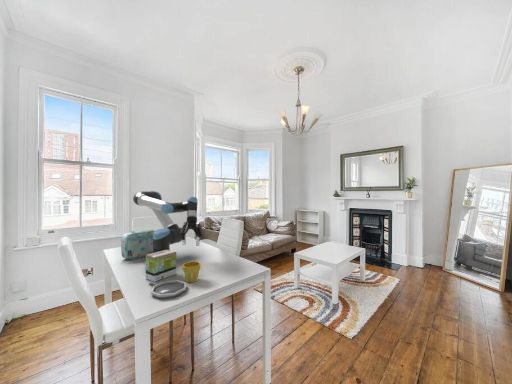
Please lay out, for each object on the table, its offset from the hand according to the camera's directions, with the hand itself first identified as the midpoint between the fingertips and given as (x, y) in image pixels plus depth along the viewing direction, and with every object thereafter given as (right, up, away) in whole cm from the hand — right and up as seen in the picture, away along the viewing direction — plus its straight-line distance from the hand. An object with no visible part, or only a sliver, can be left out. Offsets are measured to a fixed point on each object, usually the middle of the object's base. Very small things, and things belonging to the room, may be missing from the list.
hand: (191, 245), depth 159 cm
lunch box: (-47, -13, +17) cm, 52 cm away
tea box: (-12, -14, -23) cm, 29 cm away
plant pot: (+9, -14, -29) cm, 33 cm away
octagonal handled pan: (-2, -14, -41) cm, 43 cm away
